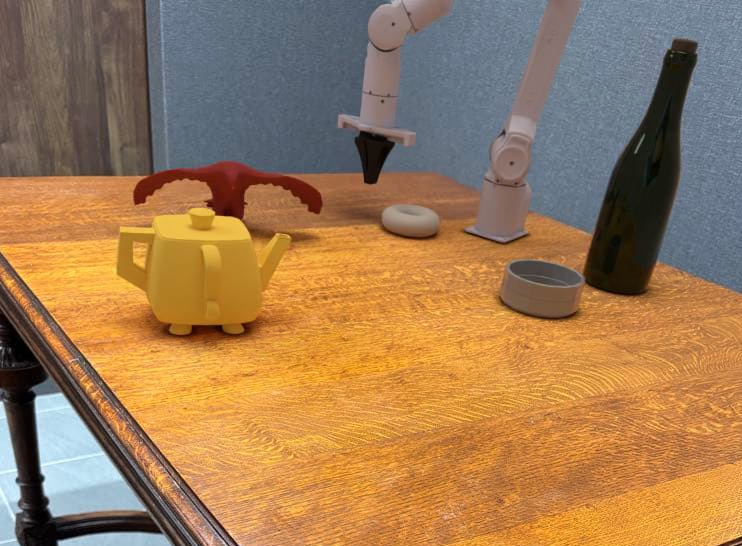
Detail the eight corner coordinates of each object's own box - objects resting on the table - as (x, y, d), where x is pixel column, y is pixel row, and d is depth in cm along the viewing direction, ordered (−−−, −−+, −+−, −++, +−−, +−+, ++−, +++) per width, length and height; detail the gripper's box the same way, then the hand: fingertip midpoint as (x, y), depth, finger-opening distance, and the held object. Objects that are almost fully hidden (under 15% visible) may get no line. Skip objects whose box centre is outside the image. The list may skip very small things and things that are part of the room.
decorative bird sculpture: (136, 250, 127) (132, 195, 112) (133, 196, 128) (129, 135, 114) (313, 257, 134) (331, 206, 120) (309, 206, 135) (325, 149, 121)
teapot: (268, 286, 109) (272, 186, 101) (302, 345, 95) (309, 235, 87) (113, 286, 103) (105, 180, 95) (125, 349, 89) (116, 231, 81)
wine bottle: (568, 278, 126) (632, 31, 107) (602, 267, 133) (669, 33, 113) (626, 300, 121) (705, 45, 101) (659, 288, 128) (739, 46, 108)
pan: (521, 283, 122) (527, 253, 119) (589, 306, 117) (597, 276, 115) (484, 301, 114) (491, 269, 111) (556, 326, 110) (564, 293, 107)
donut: (437, 244, 133) (439, 226, 141) (440, 223, 131) (442, 205, 139) (377, 235, 134) (383, 218, 142) (380, 214, 131) (385, 197, 139)
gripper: (329, 85, 130) (322, 175, 138) (403, 104, 124) (391, 197, 132) (355, 83, 135) (347, 170, 143) (427, 101, 129) (415, 191, 137)
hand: (370, 183), depth 138 cm, fingers closed
